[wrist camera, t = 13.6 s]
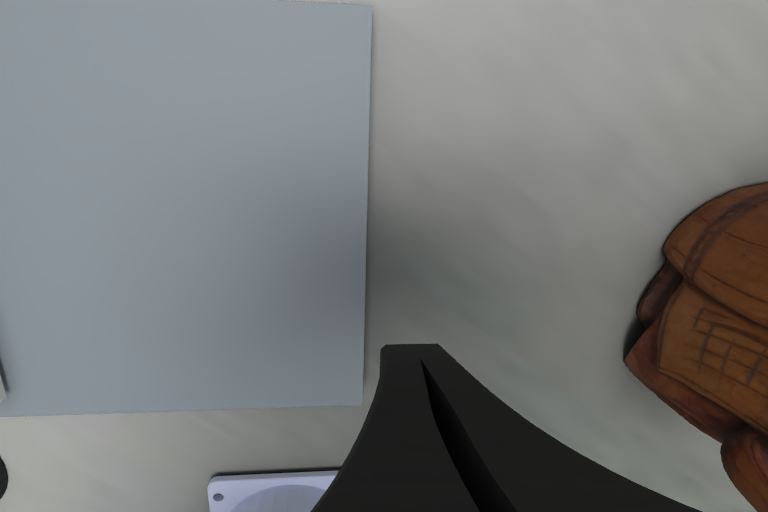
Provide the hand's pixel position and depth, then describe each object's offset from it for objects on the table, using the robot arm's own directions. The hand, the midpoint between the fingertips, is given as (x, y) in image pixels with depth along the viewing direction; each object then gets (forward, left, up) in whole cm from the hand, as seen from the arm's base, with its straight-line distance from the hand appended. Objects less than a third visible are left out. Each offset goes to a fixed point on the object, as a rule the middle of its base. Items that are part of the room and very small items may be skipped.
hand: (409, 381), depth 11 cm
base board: (+1, +13, -10) cm, 16 cm away
